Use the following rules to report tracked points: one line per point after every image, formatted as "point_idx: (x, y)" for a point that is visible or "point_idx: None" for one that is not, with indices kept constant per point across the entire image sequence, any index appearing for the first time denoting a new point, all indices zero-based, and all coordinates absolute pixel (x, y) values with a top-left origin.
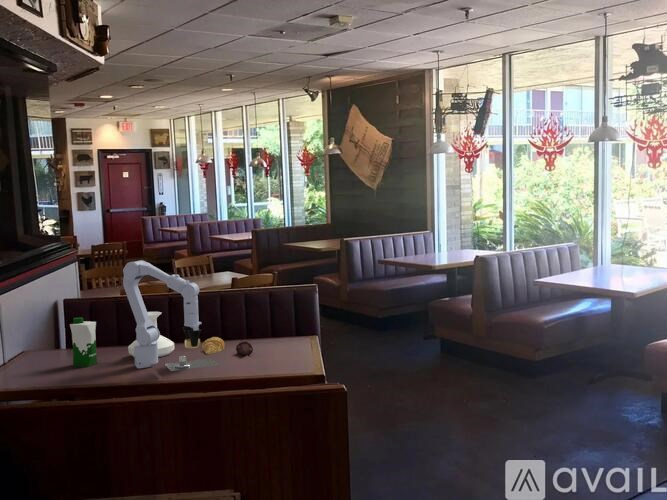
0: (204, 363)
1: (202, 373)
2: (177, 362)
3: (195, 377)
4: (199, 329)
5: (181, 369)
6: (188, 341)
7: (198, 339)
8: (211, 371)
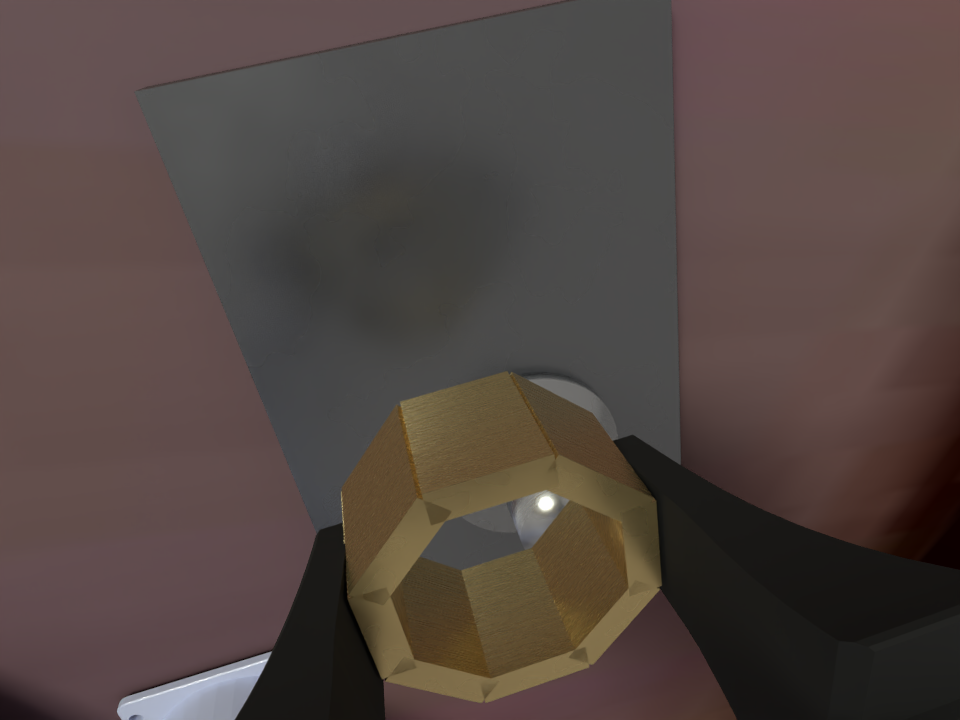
0: (492, 217)
1: (798, 234)
2: (322, 525)
3: (900, 299)
4: (883, 672)
5: (669, 450)
6: (616, 624)
7: (556, 486)
8: (771, 129)
